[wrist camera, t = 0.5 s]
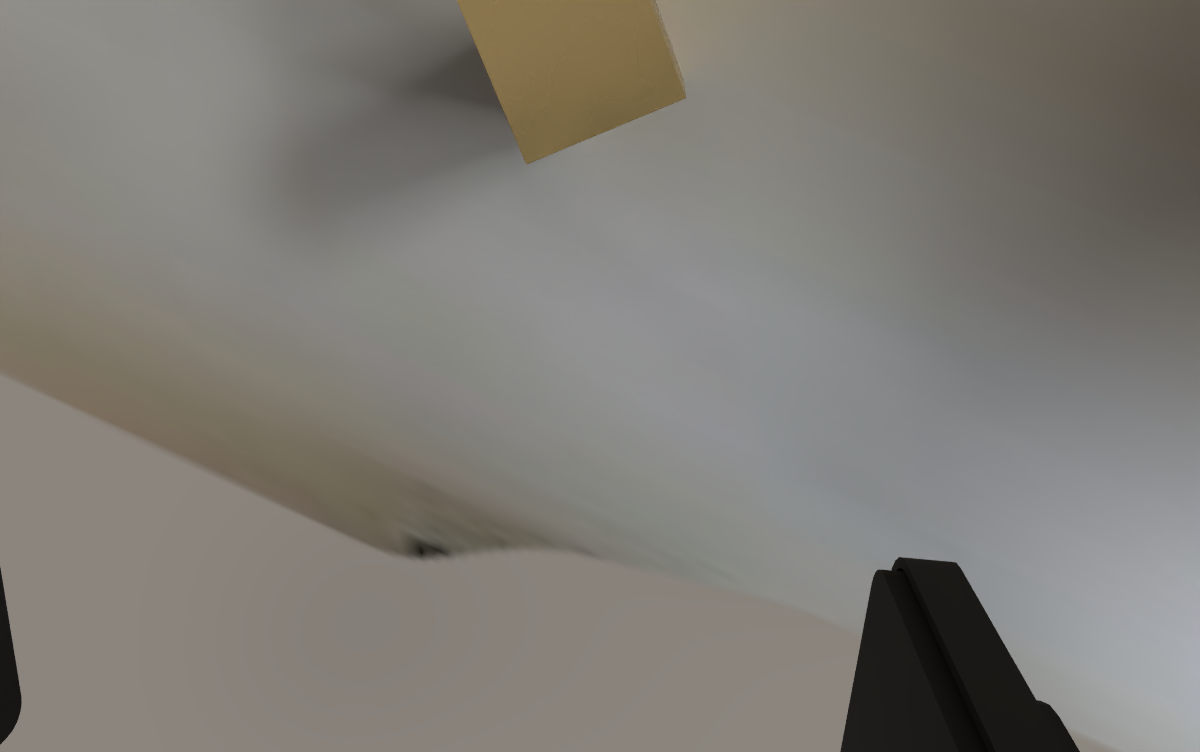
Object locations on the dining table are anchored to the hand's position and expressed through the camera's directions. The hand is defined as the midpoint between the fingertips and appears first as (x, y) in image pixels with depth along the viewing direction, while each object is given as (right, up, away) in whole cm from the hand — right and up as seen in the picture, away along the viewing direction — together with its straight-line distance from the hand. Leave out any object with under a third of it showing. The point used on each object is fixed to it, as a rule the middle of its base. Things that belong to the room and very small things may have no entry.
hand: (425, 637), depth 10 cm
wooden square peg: (+2, +14, +23) cm, 27 cm away
